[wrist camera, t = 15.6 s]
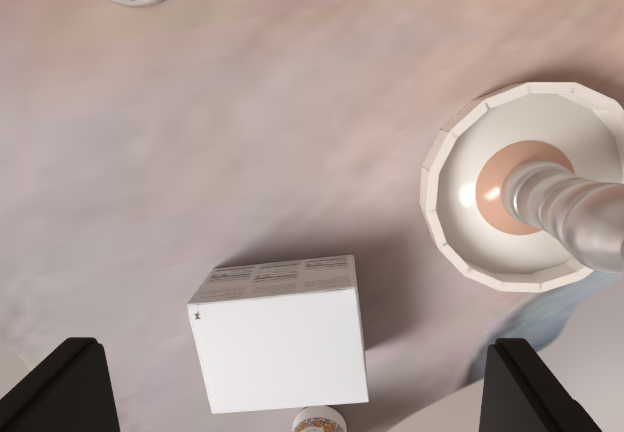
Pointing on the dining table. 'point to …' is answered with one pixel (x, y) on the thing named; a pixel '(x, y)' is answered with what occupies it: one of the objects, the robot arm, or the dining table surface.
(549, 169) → the plastic bottle
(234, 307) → the supplement box
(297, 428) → the bath foam
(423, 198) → the round tray
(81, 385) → the robot arm
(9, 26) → the dining table surface
